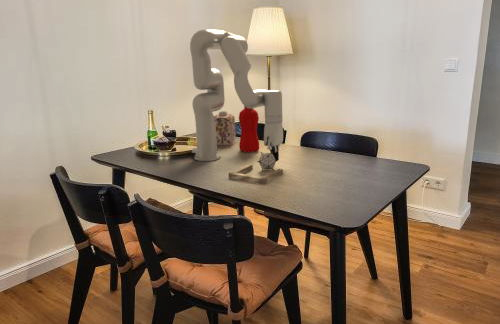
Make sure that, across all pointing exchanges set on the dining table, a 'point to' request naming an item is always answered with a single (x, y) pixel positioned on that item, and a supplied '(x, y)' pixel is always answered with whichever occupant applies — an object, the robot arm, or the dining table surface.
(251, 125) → the water bottle
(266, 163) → the game die
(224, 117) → the decorative jar
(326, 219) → the dining table surface
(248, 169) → the u-shaped tan bracket
